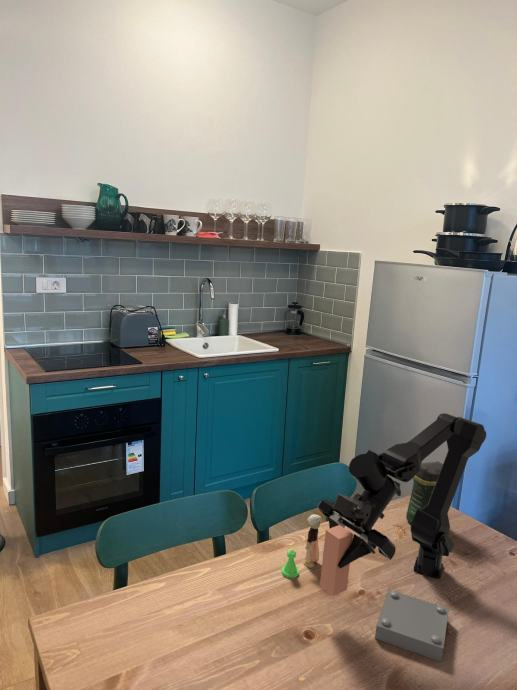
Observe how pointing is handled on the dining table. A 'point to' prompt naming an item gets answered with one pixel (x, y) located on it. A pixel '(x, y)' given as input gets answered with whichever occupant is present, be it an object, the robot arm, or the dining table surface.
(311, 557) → the grandmother figurine
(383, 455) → the robot arm
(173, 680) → the dining table surface
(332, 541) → the pillar brick
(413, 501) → the coffee jar
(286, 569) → the game piece
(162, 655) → the dining table surface
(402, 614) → the base brick
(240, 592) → the dining table surface
